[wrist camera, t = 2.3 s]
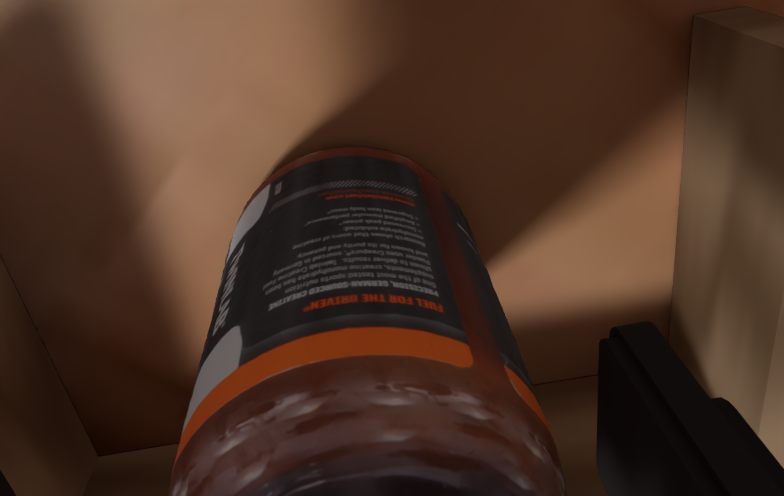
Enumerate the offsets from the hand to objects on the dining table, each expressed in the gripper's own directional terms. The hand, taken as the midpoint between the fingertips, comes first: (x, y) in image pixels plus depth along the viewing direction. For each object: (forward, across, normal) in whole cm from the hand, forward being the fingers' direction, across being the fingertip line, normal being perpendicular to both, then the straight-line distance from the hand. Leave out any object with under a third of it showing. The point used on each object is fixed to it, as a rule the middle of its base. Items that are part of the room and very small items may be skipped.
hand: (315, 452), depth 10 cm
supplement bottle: (+8, -1, +1) cm, 8 cm away
